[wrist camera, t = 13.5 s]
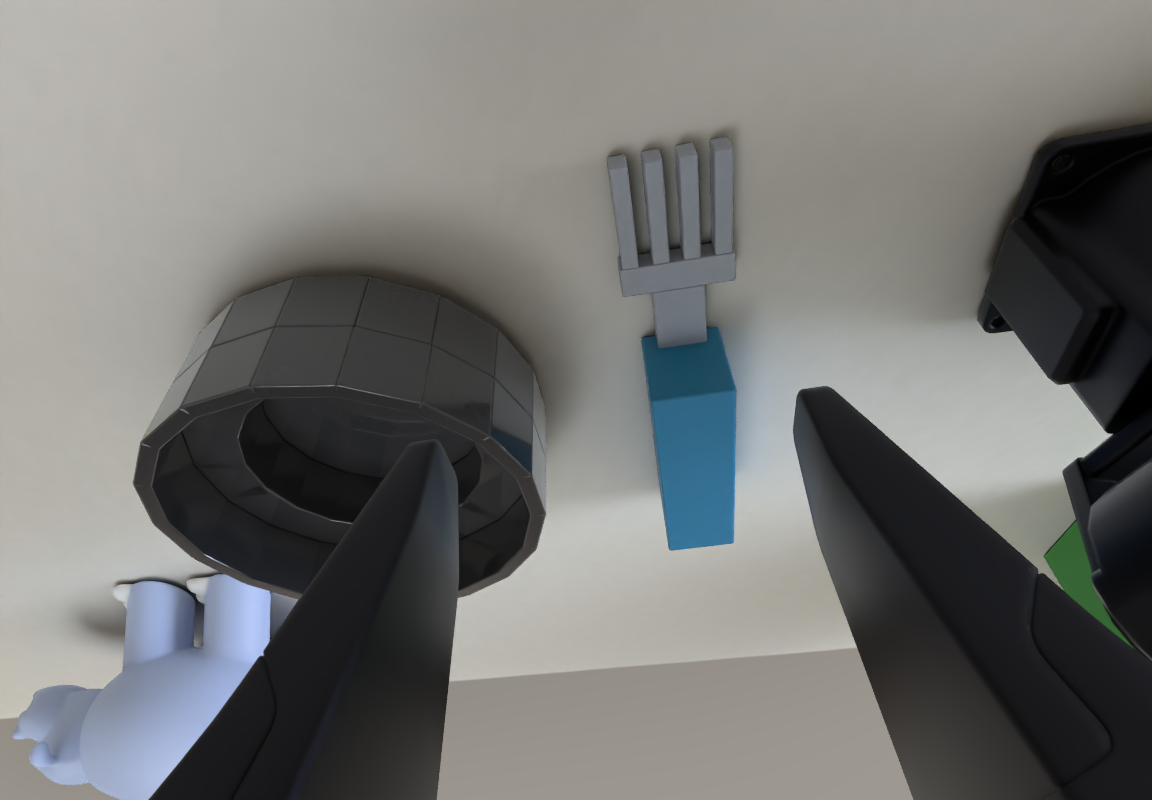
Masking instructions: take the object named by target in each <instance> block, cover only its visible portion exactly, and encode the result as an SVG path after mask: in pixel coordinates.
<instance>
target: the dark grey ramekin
mask: <svg viewBox="0 0 1152 800" xmlns="http://www.w3.org/2000/svg"><path fill="white" fill-rule="evenodd" d="M431 439H435V440H438V441H439V442H440V443H441V445H442V447H443V449H444V451H445V453H446V455H447V457H448V459H449V461H450V463H451V465H452V467H453V469H454V471H455V474H456V477H457V483H458V532H459V585H458V598H459V597H464V596H467V595H470V594H472V593H475V592H477V591H479V590H481V589H483V588H485V587H488V586H490V585H492V584H494V583H496V582H498V581H501V580H503V579H505V578H507V577H508V576H510V575H511V574H512V573H513V572H514V571H515V570H516V569H517V568H518V567H519V566H520V565H521V564H522V563H523V562H524V561H525V560H526V559H527V558H528V557H529V556H530V555H531V554H532V553H533V552H534V551H535V550H536V549H537V546H538V542H539V539H540V535H541V531H542V528H543V524H544V520H545V517H546V410H545V407H544V403H543V400H542V397H541V393H540V390H539V387H538V383H537V380H536V376H535V373H534V370H533V368H532V367H531V366H530V365H529V364H528V363H527V361H526V360H525V359H524V358H523V357H522V356H521V355H520V353H519V352H518V351H517V350H516V349H515V348H514V347H513V345H512V344H511V343H510V342H509V341H508V340H507V338H506V337H505V336H504V335H503V334H502V333H501V332H500V330H499V329H497V328H496V327H495V326H493V325H491V324H489V323H488V322H486V321H484V320H483V319H481V318H479V317H477V316H476V315H474V314H472V313H471V312H469V311H467V310H466V309H464V308H462V307H460V306H459V305H457V304H455V303H454V302H452V301H450V300H448V299H447V298H445V297H443V296H440V297H439V295H437V294H433V293H430V292H426V291H422V290H418V289H414V288H411V287H407V286H403V285H399V284H395V283H392V282H388V281H384V280H380V279H376V278H372V277H371V278H369V277H368V276H336V277H297V278H293V279H290V280H287V281H284V282H281V283H278V284H275V285H272V286H269V287H267V288H264V289H261V290H258V291H255V292H252V293H249V294H246V295H243V296H240V297H238V298H237V299H234V300H233V301H232V302H231V303H230V304H229V305H228V306H227V307H226V308H225V309H224V310H223V311H222V312H221V313H220V314H219V315H218V316H217V317H216V318H214V319H213V320H212V321H211V322H210V323H209V324H208V325H207V326H206V327H205V328H204V329H203V330H202V331H201V332H200V333H199V335H198V337H197V339H196V341H195V343H194V344H193V346H192V348H191V350H190V352H189V354H188V355H187V357H186V359H185V361H184V363H183V365H182V367H181V368H180V370H179V372H178V374H177V376H176V378H175V380H174V381H173V383H172V385H171V386H170V388H169V390H168V392H167V394H166V396H165V398H164V399H163V401H162V403H161V405H160V407H159V409H158V411H157V412H156V414H155V416H154V418H153V420H152V422H151V423H150V425H149V427H148V429H147V431H146V433H145V435H144V436H143V438H142V440H141V442H140V446H139V451H138V457H137V463H136V468H135V474H134V479H133V484H134V487H135V489H136V491H137V493H138V495H139V497H140V499H141V501H142V503H143V505H144V507H145V509H146V511H147V513H148V515H149V517H150V519H151V521H152V523H153V524H154V525H155V526H156V527H157V528H158V529H159V530H160V531H162V532H163V533H164V534H165V535H166V536H167V537H169V538H170V539H171V540H172V541H173V542H174V543H176V544H177V545H178V546H179V547H180V548H181V549H183V550H184V551H185V552H186V553H187V554H188V555H190V556H191V557H192V558H194V559H195V560H197V561H199V562H201V563H203V564H205V565H207V566H209V567H211V568H214V569H216V570H218V571H220V572H222V573H224V574H226V575H228V576H230V577H232V578H234V579H236V580H238V581H240V582H242V583H245V584H247V585H250V586H254V587H257V588H261V589H264V590H268V591H271V592H274V593H278V594H281V595H285V596H288V597H292V598H295V599H300V598H301V596H302V595H303V593H304V592H305V590H306V589H307V588H308V586H309V585H310V583H311V582H312V581H313V579H314V578H315V576H316V575H317V573H318V572H319V571H320V569H321V568H322V566H323V565H324V563H325V562H326V561H327V559H328V558H329V556H330V555H331V553H332V552H333V551H334V549H335V548H336V546H337V545H338V544H339V542H340V541H341V539H342V538H343V536H344V535H345V534H346V532H347V531H348V529H349V528H350V526H351V525H352V524H353V522H354V521H355V519H356V518H357V517H358V515H359V514H360V512H361V511H362V509H363V508H364V507H365V505H366V504H367V502H368V501H369V499H370V498H371V497H372V495H373V494H374V492H375V491H376V489H377V488H378V487H379V485H380V484H381V482H382V481H383V480H384V478H385V477H386V475H387V474H388V472H389V471H390V470H391V468H392V467H393V465H394V464H395V462H396V461H397V460H398V458H399V457H400V455H401V454H402V452H403V451H404V450H405V448H406V447H407V446H408V445H409V444H410V443H412V442H416V441H423V440H431Z"/></svg>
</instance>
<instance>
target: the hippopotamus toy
mask: <svg viewBox="0 0 1152 800" xmlns="http://www.w3.org/2000/svg"><path fill="white" fill-rule="evenodd" d="M186 584H187V587H188V589H189V590H190V591H191V592H192V593H195V594H196V597H197V599H198V601H199V602H201V603H202V604H205V610H204V631H203V646H201V647H198V648H196V647H194V623H195V601H194V599H193V598H192V596H191V595H190V594H188V593H187V592H186V591H184V590H182V589H180V588H178V587H176V586H173V585H170V584H166V583H162V582H156V581H142V582H138V583H135V584H120V585H117V586H115V587H113V588H112V590H111V591H112V594H113V596H114V597H115V598H116V599H117V600H119V601H121V602H123V604H124V606H125V607H126V609H127V617H126V631H125V644H124V657H123V671H122V673H121V674H119V675H118V676H117V677H115V678H114V679H113V680H112V681H111V682H110V683H109V684H108V685H107V686H106V687H105V688H104V689H85V688H82V687H79V686H73V685H59V686H52V687H47V688H43V689H40V690H38V691H37V692H35V694H34V695H33V701H32V702H31V704H30V706H29V707H28V709H27V710H26V711H24V712H22V713H21V714H20V716H19V724H18V726H17V727H16V729H15V730H14V732H13V734H12V736H13V738H14V739H18V740H21V739H26V738H31V739H33V740H35V741H37V742H38V743H36V744H35V745H34V746H33V747H32V749H31V751H30V754H29V760H30V763H31V764H32V765H33V766H35V767H36V768H37V769H38V770H39V771H41V772H42V773H43V774H44V775H45V776H46V777H47V778H49V779H50V780H51V781H53V782H55V783H58V784H63V785H80V784H85V783H89V782H90V783H91V785H92V786H94V787H95V788H96V789H98V790H99V791H101V792H103V793H105V794H107V795H110V796H112V797H115V798H118V799H120V800H148V799H149V798H150V797H151V796H152V795H153V793H154V792H155V791H156V790H157V789H158V787H159V786H160V785H161V784H162V783H163V781H164V780H165V779H166V778H167V776H168V775H169V774H170V773H171V772H172V770H173V769H174V768H175V767H176V766H177V764H178V763H179V762H180V761H181V759H182V758H183V757H184V756H185V754H186V753H187V752H188V751H189V749H190V748H191V747H192V746H193V744H194V743H195V742H196V741H197V739H198V738H199V737H200V736H201V734H202V733H203V732H204V731H205V729H206V728H207V727H208V726H209V724H210V723H211V722H212V721H213V719H214V718H215V717H216V715H217V714H218V712H219V711H220V710H221V708H222V707H223V706H224V704H225V703H226V702H227V700H228V699H229V698H230V696H231V695H232V693H233V692H234V691H235V689H236V688H237V687H238V685H239V684H240V683H241V681H242V680H243V678H244V677H245V675H246V674H247V673H248V671H249V670H250V668H251V667H252V666H253V664H254V663H255V661H256V660H257V658H258V657H259V656H262V655H263V651H264V649H265V647H266V646H267V645H268V643H269V642H270V640H271V639H270V603H271V596H270V592H269V591H268V590H264V589H261V588H257V587H254V586H250V585H247V584H245V583H242V582H240V581H238V580H236V579H234V578H232V577H230V576H228V575H226V574H218V575H214V576H211V577H204V578H194V579H190V580H188V581H187V583H186ZM263 656H264V655H263Z"/></svg>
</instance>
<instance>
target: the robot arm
mask: <svg viewBox="0 0 1152 800" xmlns="http://www.w3.org/2000/svg"><path fill="white" fill-rule="evenodd" d="M1063 155H1064V156H1063ZM1060 156H1063V157H1062V159H1061V160H1060V161H1059V162H1057V163H1056V164H1053V162H1054V161H1055V160H1056V159H1057V158H1059V157H1060ZM1052 164H1053V165H1052ZM985 293H986V295H985V298H984V300H983V303H982V306H981V309H980V311H979V314H978V322H979V323H980V325H981V326H982V328H983V329H984V330H985V331H986V332H988V333H999V332H1006V331H1014V332H1015V334H1016V335H1017V336H1018V338H1019V339H1020V340H1021V342H1022V343H1023V344H1024V346H1025V347H1026V349H1027V350H1028V351H1029V353H1030V354H1031V355H1032V357H1033V358H1034V359H1035V361H1036V362H1037V363H1038V365H1039V366H1040V367H1041V369H1042V370H1043V371H1044V373H1045V374H1046V375H1047V377H1048V378H1049V379H1051V380H1052V381H1053V382H1054V383H1055V384H1057V385H1062V384H1069V385H1070V386H1071V387H1072V388H1073V390H1074V391H1075V392H1076V394H1077V395H1078V396H1079V398H1080V399H1081V400H1082V401H1083V403H1084V404H1085V405H1086V407H1087V408H1088V409H1089V411H1090V412H1091V413H1092V414H1093V416H1094V417H1095V418H1096V420H1097V421H1098V422H1099V424H1100V425H1101V426H1102V428H1103V429H1104V430H1105V431H1106V432H1107V433H1110V434H1113V435H1111V436H1110V437H1109V438H1108V439H1106V440H1105V441H1104V442H1103V443H1102V444H1100V445H1099V446H1098V447H1097V448H1095V449H1094V450H1093V451H1092V452H1090V453H1089V454H1088V455H1087V456H1085V457H1084V458H1077V459H1076V460H1075V461H1074V462H1072V463H1071V464H1070V465H1069V466H1067V467H1066V468H1065V469H1064V470H1063V476H1064V479H1065V483H1066V486H1067V489H1068V493H1069V496H1070V500H1071V503H1072V506H1073V510H1074V513H1075V516H1076V520H1077V523H1078V527H1079V530H1080V533H1081V537H1082V540H1083V543H1084V547H1085V550H1086V554H1087V557H1088V560H1089V564H1090V567H1091V570H1092V575H1091V580H1092V584H1093V588H1094V590H1095V592H1096V593H1097V595H1098V596H1099V598H1100V600H1101V601H1102V603H1103V606H1104V608H1105V610H1106V612H1107V613H1108V615H1109V616H1110V619H1111V621H1112V623H1113V624H1114V625H1115V627H1116V628H1117V629H1118V630H1119V631H1120V632H1121V634H1122V635H1123V636H1124V637H1125V639H1126V640H1127V641H1128V642H1129V643H1130V645H1131V646H1132V647H1133V648H1132V647H1131V646H1130V645H1128V644H1127V643H1126V642H1124V641H1123V640H1122V639H1121V638H1119V637H1118V636H1117V635H1115V634H1114V633H1113V632H1112V631H1111V630H1109V629H1108V628H1107V627H1106V626H1105V625H1103V624H1102V623H1101V622H1100V621H1099V620H1097V619H1096V618H1095V617H1094V616H1093V615H1091V614H1090V613H1089V612H1088V611H1087V610H1085V609H1084V608H1083V607H1082V606H1081V605H1080V604H1078V603H1077V602H1076V601H1075V600H1074V599H1072V598H1071V597H1070V596H1069V595H1068V594H1067V593H1065V592H1064V591H1063V590H1062V589H1061V588H1060V587H1059V586H1057V585H1056V584H1055V583H1054V582H1053V581H1052V580H1051V579H1049V578H1048V577H1047V576H1046V575H1045V574H1043V573H1040V574H1038V569H1037V567H1035V566H1034V565H1033V564H1032V563H1031V562H1030V561H1029V560H1028V559H1026V558H1025V557H1024V556H1023V555H1022V554H1021V553H1020V552H1018V551H1017V550H1016V549H1015V548H1014V547H1013V546H1012V545H1010V544H1009V543H1008V542H1007V541H1006V540H1005V539H1004V538H1002V537H1001V536H1000V535H999V534H998V533H997V532H996V531H994V530H993V529H992V528H991V527H990V526H989V525H988V524H986V523H985V522H984V521H983V520H982V519H981V518H980V517H978V516H977V515H976V514H975V513H974V512H973V511H972V510H970V509H969V508H968V507H967V506H966V505H965V504H964V503H962V502H961V501H960V500H959V499H958V498H957V497H956V496H954V495H953V494H952V493H951V492H950V491H949V490H948V489H947V488H945V487H944V486H943V485H942V484H941V483H940V482H939V481H937V480H936V479H935V478H934V477H933V476H932V475H931V474H929V473H928V472H927V471H926V470H925V469H924V468H923V467H921V466H920V465H919V464H918V463H917V462H916V461H915V460H913V459H912V458H911V457H910V456H909V455H908V454H907V453H905V452H904V451H903V450H902V449H901V448H900V447H899V446H897V445H896V444H895V443H894V442H893V441H892V440H891V439H889V438H888V437H887V436H886V435H885V434H884V433H883V432H881V431H880V430H879V429H878V428H877V427H876V426H875V425H873V424H872V423H871V422H870V421H869V420H868V419H867V418H866V417H864V416H863V415H862V414H861V413H860V412H859V411H858V410H856V409H855V408H854V407H853V406H852V405H851V404H850V403H848V402H847V401H846V400H845V399H844V398H843V397H842V396H840V395H839V394H838V393H837V392H836V391H835V390H833V389H832V388H830V387H827V386H822V387H815V388H808V389H802V390H800V391H799V393H798V395H797V399H796V408H795V417H794V425H793V435H794V442H795V447H796V451H797V455H798V460H799V464H800V468H801V472H802V477H803V481H804V485H805V489H806V494H807V498H808V502H809V506H810V511H811V515H812V519H813V523H814V527H815V531H816V535H817V539H818V542H819V545H820V548H821V551H822V554H823V557H824V559H825V562H826V565H827V567H828V570H829V573H830V575H831V578H832V581H833V584H834V586H835V589H836V592H837V594H838V597H839V600H840V602H841V605H842V608H843V611H844V613H845V616H846V619H847V621H848V624H849V627H850V629H851V632H852V635H853V637H854V640H855V643H856V646H857V648H858V651H859V653H860V656H861V659H862V662H863V664H864V667H865V670H866V672H867V675H868V678H869V681H870V683H871V686H872V689H873V691H874V694H875V697H876V700H877V702H878V704H879V707H880V710H881V713H882V716H883V718H884V721H885V724H886V726H887V729H888V732H889V735H890V737H891V740H892V743H893V745H894V748H895V751H896V753H897V756H898V759H899V761H900V764H901V767H902V770H903V772H904V775H905V778H906V780H907V783H908V786H909V788H910V791H911V794H912V797H913V799H914V800H1152V124H1146V125H1140V126H1134V127H1128V128H1122V129H1116V130H1110V131H1104V132H1098V133H1092V134H1086V135H1080V136H1074V137H1068V138H1062V139H1058V140H1055V141H1052V142H1051V143H1049V144H1047V145H1046V146H1044V147H1043V148H1042V149H1041V150H1040V151H1039V152H1038V154H1037V156H1036V158H1035V159H1034V162H1033V165H1032V167H1031V170H1030V173H1029V176H1028V178H1027V181H1026V184H1025V187H1024V190H1023V192H1022V195H1021V198H1020V201H1019V203H1018V206H1017V209H1016V212H1015V214H1014V217H1013V220H1012V222H1011V224H1010V225H1009V226H1008V228H1007V231H1006V234H1005V237H1004V239H1003V242H1002V245H1001V248H1000V251H999V253H998V256H997V259H996V262H995V265H994V267H993V270H992V273H991V276H990V278H989V281H988V284H987V287H986V290H985ZM996 317H997V318H996ZM458 585H459V532H458V483H457V477H456V474H455V471H454V469H453V467H452V465H451V463H450V461H449V459H448V457H447V455H446V453H445V451H444V449H443V447H442V445H441V443H440V442H439V441H438V440H435V439H431V440H423V441H416V442H412V443H410V444H409V445H408V446H407V447H406V448H405V450H404V451H403V452H402V454H401V455H400V457H399V458H398V460H397V461H396V462H395V464H394V465H393V467H392V468H391V470H390V471H389V472H388V474H387V475H386V477H385V478H384V480H383V481H382V482H381V484H380V485H379V487H378V488H377V489H376V491H375V492H374V494H373V495H372V497H371V498H370V499H369V501H368V502H367V504H366V505H365V507H364V508H363V509H362V511H361V512H360V514H359V515H358V517H357V518H356V519H355V521H354V522H353V524H352V525H351V526H350V528H349V529H348V531H347V532H346V534H345V535H344V536H343V538H342V539H341V541H340V542H339V544H338V545H337V546H336V548H335V549H334V551H333V552H332V553H331V555H330V556H329V558H328V559H327V561H326V562H325V563H324V565H323V566H322V568H321V569H320V571H319V572H318V573H317V575H316V576H315V578H314V579H313V581H312V582H311V583H310V585H309V586H308V588H307V589H306V590H305V592H304V593H303V595H302V596H301V598H300V599H299V600H298V602H297V603H296V605H295V606H294V608H293V609H292V610H291V612H290V613H289V615H288V616H287V618H286V619H285V620H284V622H283V623H282V625H281V626H280V627H279V629H278V630H277V632H276V633H275V635H274V636H273V637H272V639H271V640H270V642H269V643H268V645H267V646H266V647H265V649H264V651H263V655H264V656H263V655H262V656H259V657H258V658H257V660H256V661H255V663H254V664H253V666H252V667H251V668H250V670H249V671H248V673H247V674H246V675H245V677H244V678H243V680H242V681H241V683H240V684H239V685H238V687H237V688H236V689H235V691H234V692H233V693H232V695H231V696H230V698H229V699H228V700H227V702H226V703H225V704H224V706H223V707H222V708H221V710H220V711H219V712H218V714H217V715H216V717H215V718H214V719H213V721H212V722H211V723H210V724H209V726H208V727H207V728H206V729H205V731H204V732H203V733H202V734H201V736H200V737H199V738H198V739H197V741H196V742H195V743H194V744H193V746H192V747H191V748H190V749H189V751H188V752H187V753H186V754H185V756H184V757H183V758H182V759H181V761H180V762H179V763H178V764H177V766H176V767H175V768H174V769H173V770H172V772H171V773H170V774H169V775H168V776H167V778H166V779H165V780H164V781H163V783H162V784H161V785H160V786H159V787H158V789H157V790H156V791H155V792H154V793H153V795H152V796H151V797H150V798H149V799H148V800H436V799H437V790H438V781H439V771H440V770H439V769H440V761H441V752H442V742H443V732H444V723H445V713H446V703H447V694H448V685H449V675H450V665H451V656H452V646H453V636H454V627H455V617H456V608H457V598H458Z"/></svg>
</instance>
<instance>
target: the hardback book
mask: <svg viewBox="0 0 1152 800" xmlns="http://www.w3.org/2000/svg"><path fill="white" fill-rule="evenodd" d="M1044 558H1045V560H1046V561H1047V563H1048V565H1049V566H1050V568H1051V570H1052V571H1053V573H1054V575H1055V577H1056V578H1057V580H1058V582H1059V583H1060V585H1061V587H1062V589H1063V590H1064V592H1065V593H1067V594H1068V595H1069V596H1070V597H1071V598H1072V599H1074V600H1075V601H1076V602H1077V603H1078V604H1080V605H1081V606H1082V607H1083V608H1084V609H1085V610H1087V611H1088V612H1089V613H1090V614H1091V615H1093V616H1094V617H1095V618H1096V619H1097V620H1099V621H1100V622H1101V623H1102V624H1103V625H1105V626H1106V627H1107V628H1108V629H1109V630H1111V631H1112V632H1113V633H1114V634H1115V635H1117V636H1118V637H1119V638H1121V639H1122V640H1123V641H1124V642H1126V643H1127V644H1128V645H1130V643H1129V642H1128V641H1127V640H1126V639H1125V637H1124V636H1123V635H1122V634H1121V632H1120V631H1119V630H1118V629H1117V628H1116V627H1115V625H1114V624H1113V623H1112V621H1111V619H1110V616H1109V615H1108V613H1107V612H1106V610H1105V608H1104V606H1103V603H1102V601H1101V600H1100V598H1099V596H1098V595H1097V593H1096V592H1095V590H1094V588H1093V584H1092V580H1091V575H1092V570H1091V567H1090V564H1089V560H1088V557H1087V554H1086V550H1085V547H1084V543H1083V540H1082V537H1081V533H1080V530H1079V527H1078V523H1077V520H1076V522H1075V523H1074V524H1073V525H1072V526H1071V527H1070V528H1069V529H1068V530H1067V532H1066V533H1065V534H1064V535H1063V536H1062V537H1061V538H1060V539H1059V541H1058V542H1057V543H1056V544H1055V545H1054V546H1053V547H1052V548H1051V549H1050V551H1049V552H1048V553H1047V554H1046V555H1045V556H1044ZM1130 646H1131V645H1130ZM1131 647H1132V646H1131ZM1132 648H1133V647H1132Z"/></svg>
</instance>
